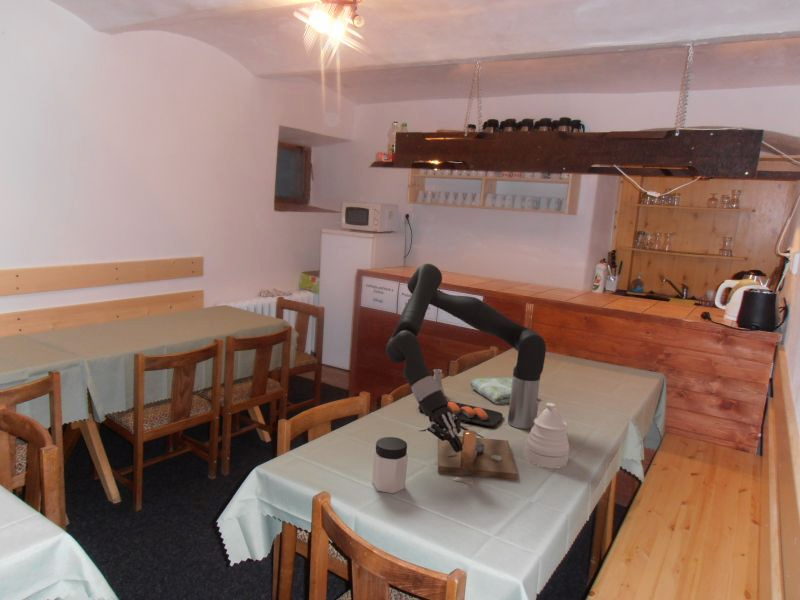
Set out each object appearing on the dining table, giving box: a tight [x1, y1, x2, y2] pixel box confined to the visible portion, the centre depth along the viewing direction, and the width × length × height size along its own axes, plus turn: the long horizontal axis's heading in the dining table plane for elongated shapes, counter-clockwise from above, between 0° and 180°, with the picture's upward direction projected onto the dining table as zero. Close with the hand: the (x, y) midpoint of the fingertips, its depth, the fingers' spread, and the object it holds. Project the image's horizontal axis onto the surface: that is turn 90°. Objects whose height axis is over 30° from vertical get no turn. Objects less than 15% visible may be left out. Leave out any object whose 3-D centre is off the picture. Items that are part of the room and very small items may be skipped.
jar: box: [371, 436, 409, 494], centre depth 152 cm, size 9×8×12 cm
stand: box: [437, 434, 518, 486], centre depth 170 cm, size 22×27×2 cm
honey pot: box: [524, 402, 570, 469], centre depth 174 cm, size 13×13×18 cm
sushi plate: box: [417, 400, 504, 438], centre depth 200 cm, size 29×30×4 cm
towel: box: [470, 376, 513, 405], centre depth 231 cm, size 18×21×5 cm
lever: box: [460, 429, 484, 473], centre depth 164 cm, size 19×5×12 cm, turn 163°
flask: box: [433, 368, 446, 397], centre depth 224 cm, size 7×7×10 cm
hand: (460, 450), depth 158 cm, fingers closed
